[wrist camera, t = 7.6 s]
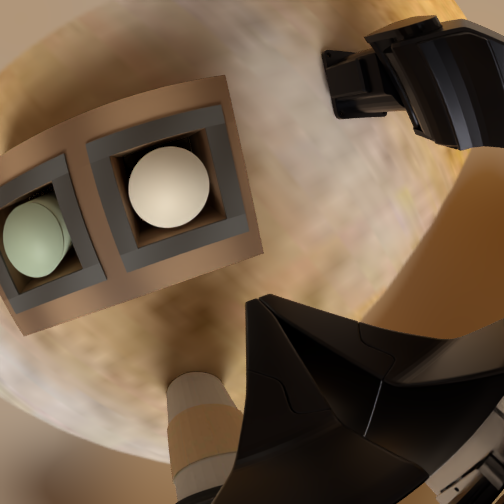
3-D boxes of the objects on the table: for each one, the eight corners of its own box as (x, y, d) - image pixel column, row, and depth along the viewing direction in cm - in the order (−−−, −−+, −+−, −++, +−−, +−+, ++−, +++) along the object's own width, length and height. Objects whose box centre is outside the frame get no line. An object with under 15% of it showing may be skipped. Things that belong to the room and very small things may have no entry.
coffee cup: (152, 419, 25) (182, 540, 11) (146, 357, 22) (175, 516, 9) (233, 412, 28) (287, 518, 15) (245, 353, 26) (324, 481, 12)
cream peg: (185, 143, 17) (199, 137, 12) (198, 198, 19) (217, 213, 14) (128, 160, 16) (119, 161, 11) (144, 216, 18) (142, 238, 13)
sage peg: (75, 181, 15) (48, 190, 10) (93, 234, 17) (74, 263, 12) (30, 202, 14) (-6, 219, 9) (48, 253, 16) (20, 286, 11)
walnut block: (202, 98, 17) (226, 73, 11) (232, 227, 21) (265, 254, 16) (3, 174, 13) (-41, 184, 8) (47, 293, 17) (23, 338, 12)
